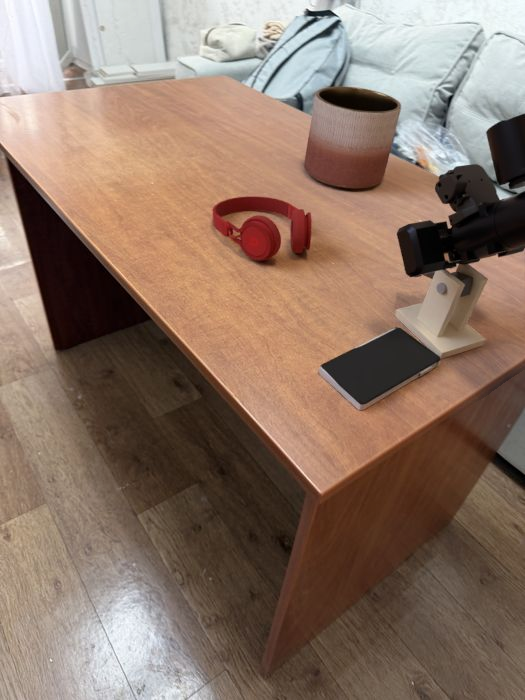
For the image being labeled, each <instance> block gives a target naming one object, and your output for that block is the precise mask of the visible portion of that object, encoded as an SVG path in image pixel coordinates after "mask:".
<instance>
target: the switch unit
mask: <svg viewBox="0 0 525 700" xmlns="http://www.w3.org/2000/svg"><path fill="white" fill-rule="evenodd" d="M455 272H460V273H462V274H465V275H467V276H470V277H472V278H473V281H472V287H471V292H470V295H467V296H463V297H460V295H461V293H462V291H463V288H464V286H465V284H464V283H463V282H461V281H460V280H459V279H458V278H456V277H455V276H454V275H452V274H451V273H452V272H450V271H449V270H448V269H444V270H439V271H436V272H435V274H434V276H433V279H431V281H430V284H429V287H428V289H427V292H426V294H425V297H424V300H423V302H419V303H416V304H412V305H408V306H403V307H400V308H396V310H395V313H394V316H395V318H397V320H398V321H399V322H401V323H402V324H403V326H405V327H406V328H407V329H408V330H409V331H410V333H412V334H413V335H414V336H415V337H416V339H417V340H418V341H419V342H420V343H422V344H423V345H425V346H426V347H427V348H429V349H430V350H431V351H433V352H434V353H435V354H437V355H438V356H439V357H440V360H441V359H445V358H448V357H451V356H455V355H458V354H460V353H464V352H467V351H470V350H475V349H476V348H480V347H483V346H484V344H485V342H486V340H487V339H486V338H485V337H484V336H483V335H482V334H480V333H479V332H478V331H477V330H475V329H474V328H473V327H472V326H471V325H470V324H469V323H468V322H469V320H470V318H471V315H472V314H473V311H474V310H475V308H476V305H477V303H478V301H479V299H480V297H481V294H482V293H483V290H484V289H485V287H486V285H487V282H488V281H489V278H488V277H487V276H485V275H484V274H482V273H481V272H480V271H478V270H477V269H476V268H474V267H473V266H472V265H470V264H466V265H463V264H457V267H456V270H455Z"/></svg>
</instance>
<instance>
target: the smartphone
mask: <svg viewBox="0 0 525 700" xmlns="http://www.w3.org/2000/svg"><path fill="white" fill-rule="evenodd" d="M440 362H441V359H440V357H439V356H438V355H437V354H435V353H434V352H433V351H431V350H430V349H429V348H427V347H426V346H425V345H424V344H423V343H422V342H421V341H420V340H419V339H417V338H415V337H414V336H413V335H411V334H410V333H408V332H407V331H406V330H404V329H403V328H401V327H398V326H396V327H393V328H391V329H389V330H388V331H385V332H383V333H381V334H379V335H377V336H375V337H373V338H372V339H369V340H367V341H366V342H364V343H362V344H360V345H357V346H355V347H354V348H351V349H350V350H347V351H345V352H343V353H342V354H339V355H337V356H335V357H333V358H332V359H329V360H328V361H326V362H324V363H321V364H320V366H319V368H318V374H319V375H320V376H321V377H322V378H324V380H325V381H326V382H327V383H328V384H330V385H331V386H332V387H333V388H334V389H335V390H336V391H337V392H338V393H339V394H341V396H342V397H344V399H346V400H347V401H348V402H349V403H350V404H351V405H352V406H353V407H354V408H356V409H357V410H358V411H364V410H366V409H368V408H369V407H371V406H372V405H374V404H377V402H379V401H381V400H383V399H384V398H386V397H387V396H389V395H391V394H393V393H394V392H396V391H397V390H399V389H401V388H403V387H404V386H406V385H408V384H410V383H411V382H413V381H414V380H416V379H418V378H420V377H421V376H424V375H425V374H427V373H429V372H431V371H432V370H433V369H435V368H436V367H438V366H439V364H440Z"/></svg>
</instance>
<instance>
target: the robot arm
mask: <svg viewBox="0 0 525 700" xmlns="http://www.w3.org/2000/svg"><path fill="white" fill-rule="evenodd" d="M485 134H486V138H487V143H488V148H489V152H490V156H491V161H492V165H493V170H494V174H495V179H496V181H497V182H496V183H497V184H498V186H499V187H501V186H503V185H507V186H508V189H509V190H516V189H519V188H524V187H525V113H522V114H519V115H516V116H513V117H511V118H509V119H505V120H500V121H498V122H496V123H494V124H493V125H491V126H490V127H489V128H488V129H487V130H486V131H485ZM434 191H435V193H436V195H437V197H438V199H439V200H440V203H442V204H443V205H448V206H449V207H450V208H451V210H452V211H453V212H454V213H451V214H449V215H448V217H447V218H448V222H449V225H450V226H451V227H449V226H448V222H447V220H445V221H439V222H433V220H431V219H429V220H422V221H418V222H411V223H408V224H405V225H403V226H401V227H399V228H398V230H397V232H396V237H397V241H398V246H399V251H400V254H401V258H402V262H403V268H404V271H405V274H406V275H407V276H408V277H409V278H416V277H415V276H419V275H421V276H424V274H428V273H432V272H436V271H439V270H444V269H446V270H448V269H453V268H455V267H456V268H457V267H458V265H459V264H463V265H466V264H469V265H470V264H474V263H478V262H480V261H481V260H483V259H487V258H491V257H495V256H497V258H503V257H508V256H511V255H515V254H519V253H522V252H524V251H525V190H523V191H520V192H518V193H516V194H513V195H511V196H508V197H505V198H501V199H500V197H499V195H498V192H497V191H498V190H497V188H496V186H495V185H494V183H493V181H492V180H491V178H490V177H489V175H488V173H487V172H486V170H485V168H484V167H483V166H482V165H480V164H477V163H473V164H465V165H457V166H455V167H454V168H453V169H448V170H447V171H446V172H445V173H442V174H439V176H438V181H437V182H436V183H435V184H434ZM419 277H420V276H419Z"/></svg>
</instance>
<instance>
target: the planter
mask: <svg viewBox="0 0 525 700" xmlns="http://www.w3.org/2000/svg"><path fill="white" fill-rule="evenodd" d="M401 110H402V104H401V102H400V101H399V100H398V99H396V98H395V97H393V96H391V95H388V94H386V93H383V92H381V91H376V90H372V89H368V88H362V87H354V86H344V85H343V86H341V85H340V86H338V85H337V86H327V87H322V88H320V89H318V90H316V92H315V94H314V99H313V107H312V114H311V120H310V124H309V130H308V131H309V132H308V137H307V142H306V143H307V144H306V149H305V155H304V165H303V166H304V169H305V171H306V172H307V174H308V175H309V176H310V177H312V178H313V179H314V180H316V181H317V182H319V183H321V184H324V185H327V186H330V187H335V188H339V189H346V190H362V189H369V188H372V187H374V186H377V185H378V184H380V183H381V182H382V181H383V180H384V177H385V173H386V170H387V166H388V162H389V158H390V154H391V150H392V146H393V141H394V138H395V134H396V130H397V126H398V122H399V117H400V114H401Z"/></svg>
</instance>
